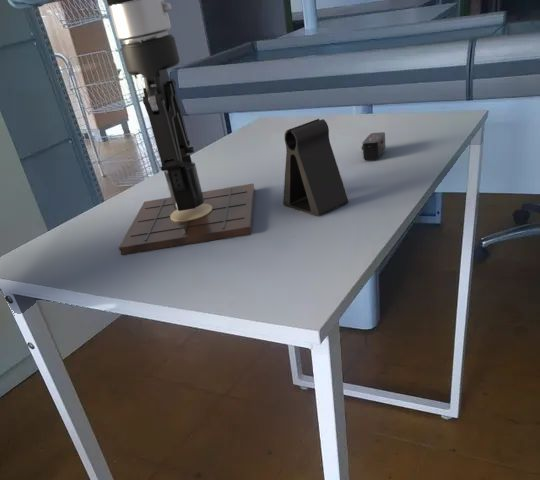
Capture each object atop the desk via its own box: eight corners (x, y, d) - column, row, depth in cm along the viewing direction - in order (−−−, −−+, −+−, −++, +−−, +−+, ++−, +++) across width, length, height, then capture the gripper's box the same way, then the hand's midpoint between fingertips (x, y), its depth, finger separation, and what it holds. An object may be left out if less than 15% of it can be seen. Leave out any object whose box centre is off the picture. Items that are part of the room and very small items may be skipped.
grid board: (121, 255, 82) (118, 246, 82) (146, 208, 99) (143, 200, 98) (251, 234, 80) (249, 225, 80) (254, 189, 97) (253, 182, 96)
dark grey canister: (171, 212, 86) (161, 174, 83) (176, 201, 90) (166, 164, 87) (202, 207, 86) (193, 169, 82) (205, 196, 90) (196, 159, 86)
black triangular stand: (283, 205, 88) (271, 127, 81) (311, 193, 90) (302, 116, 83) (319, 216, 81) (308, 133, 75) (348, 203, 84) (341, 121, 77)
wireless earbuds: (387, 148, 103) (386, 130, 101) (377, 161, 98) (376, 142, 96) (363, 149, 105) (362, 132, 103) (352, 162, 100) (351, 144, 98)
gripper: (161, 39, 67) (206, 219, 80) (181, 26, 81) (216, 180, 95) (103, 51, 68) (157, 227, 81) (133, 36, 82) (175, 188, 96)
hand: (189, 202), depth 88 cm, fingers closed on dark grey canister, 5 cm apart
